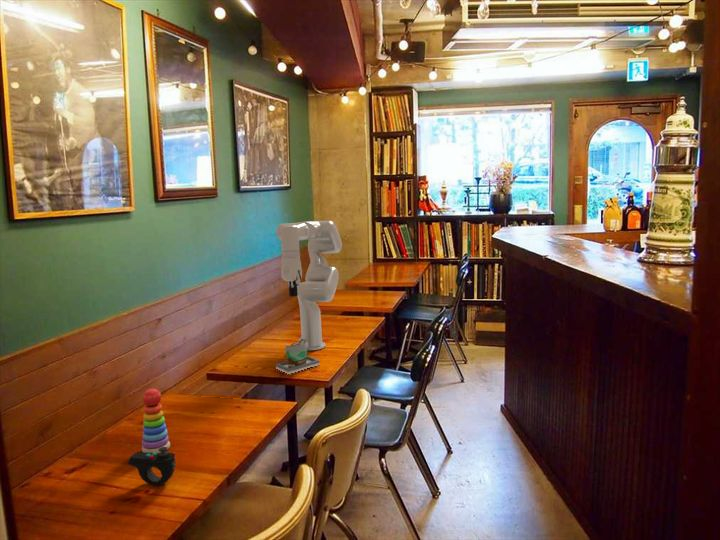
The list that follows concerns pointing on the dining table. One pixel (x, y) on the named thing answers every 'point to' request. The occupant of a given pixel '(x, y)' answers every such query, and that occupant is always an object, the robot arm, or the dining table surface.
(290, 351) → the food container
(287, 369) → the framed board
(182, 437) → the dining table surface
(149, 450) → the stacking toy
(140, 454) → the controller
